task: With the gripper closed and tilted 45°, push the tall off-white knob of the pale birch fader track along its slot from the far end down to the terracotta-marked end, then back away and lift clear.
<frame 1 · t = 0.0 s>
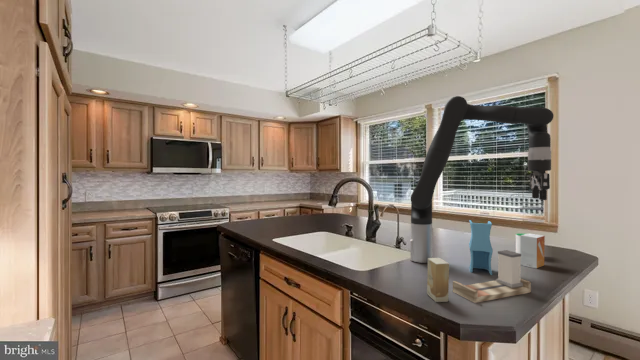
hand: (539, 199, 117), 29 cm above the table, tool pointing down, fingers open, 8 cm apart
skincare box: (437, 298, 93), on the table
mug: (529, 257, 138), on the table
fader knob: (509, 268, 100), point 7 cm above the table, slide at 0.0 cm
small box: (532, 265, 125), on the table
fader track: (491, 292, 97), on the table
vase: (480, 271, 119), on the table
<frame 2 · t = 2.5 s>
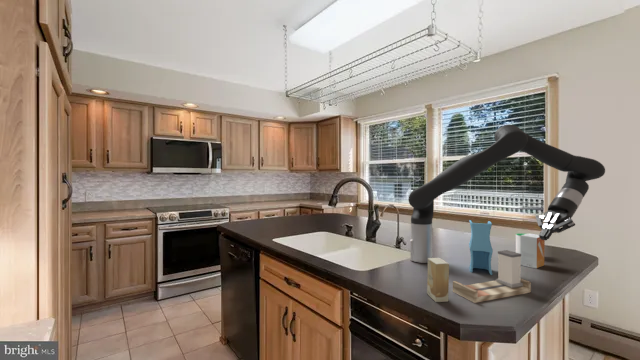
hand: (542, 238, 104), 16 cm above the table, tool tilted 45°, fingers closed
nothing on the table moved.
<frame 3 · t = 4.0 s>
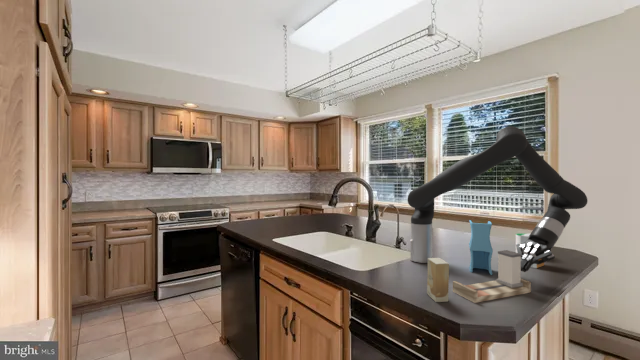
hand: (521, 270, 101), 6 cm above the table, tool tilted 45°, fingers closed
nothing on the table moved.
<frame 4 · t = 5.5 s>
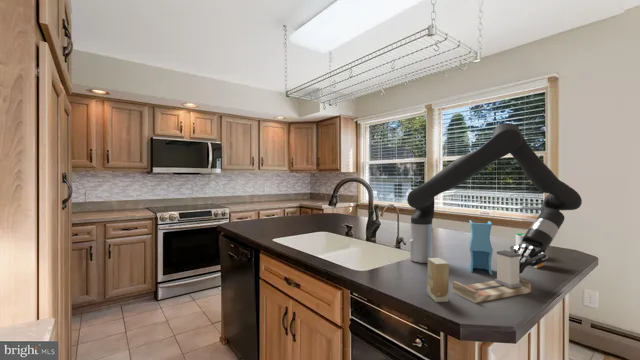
hand: (515, 272, 100), 6 cm above the table, tool tilted 45°, fingers closed
fader knob: (508, 268, 99), point 7 cm above the table, slide at 0.6 cm
everything else where it was.
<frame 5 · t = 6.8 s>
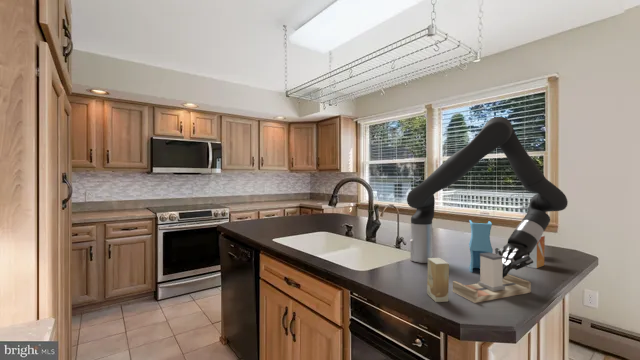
hand: (499, 275, 97), 6 cm above the table, tool tilted 45°, fingers closed
fader knob: (491, 270, 97), point 7 cm above the table, slide at 8.1 cm, touching gripper
everything else where it was.
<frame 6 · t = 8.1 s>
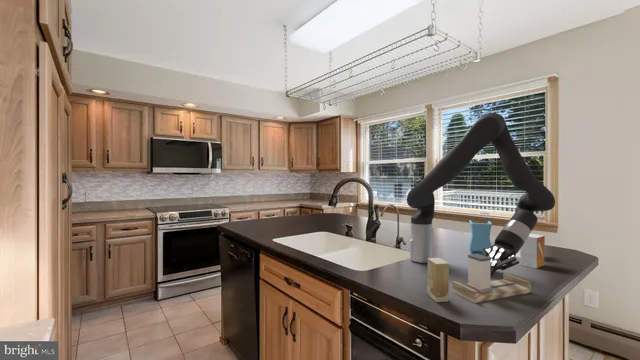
hand: (485, 276, 96), 6 cm above the table, tool tilted 45°, fingers closed
fader knob: (479, 272, 95), point 7 cm above the table, slide at 13.3 cm, touching gripper
everything else where it was.
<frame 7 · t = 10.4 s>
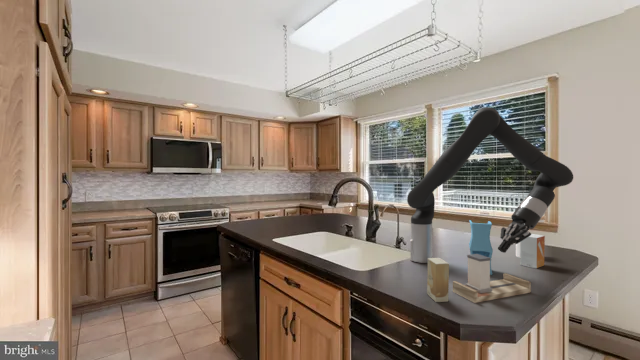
hand: (501, 250, 101), 13 cm above the table, tool tilted 40°, fingers closed
fader knob: (478, 272, 95), point 7 cm above the table, slide at 13.6 cm
everything else where it was.
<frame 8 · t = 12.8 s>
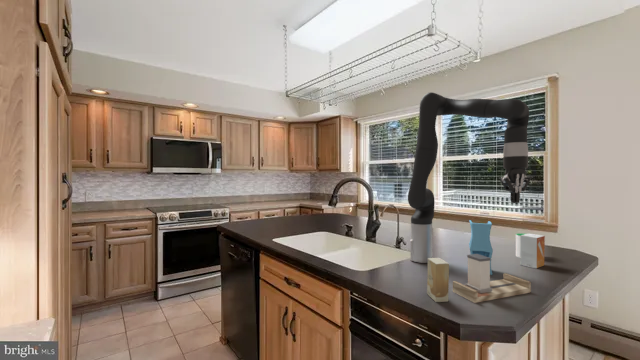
hand: (515, 202, 106), 29 cm above the table, tool pointing down, fingers closed
nothing on the table moved.
at the end: fader knob slide at 13.6 cm; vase moved 0.2 cm from its start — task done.
